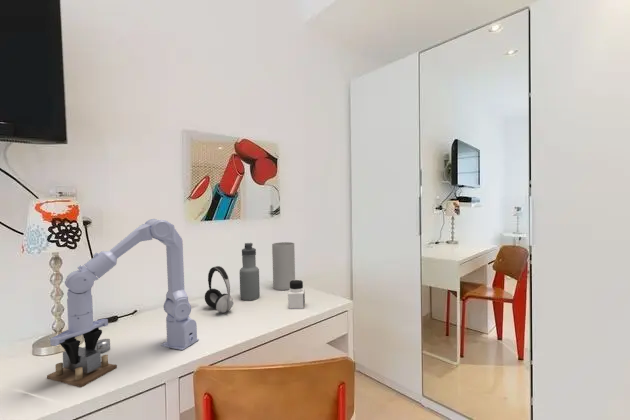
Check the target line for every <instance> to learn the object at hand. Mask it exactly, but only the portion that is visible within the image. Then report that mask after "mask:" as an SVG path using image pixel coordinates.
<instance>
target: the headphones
mask: <svg viewBox="0 0 630 420" xmlns="http://www.w3.org/2000/svg"><path fill="white" fill-rule="evenodd" d="M215 272H217V273H219V274H220V276H221V278H222V279H223V282H224V284H225V287H226V292H227V293H222V292H221V291H220V290H218V289H217V288H212V281H213V280H212V279H213V276H214V273H215ZM207 282H208V290H206V292H205V293H204V302H205V304H206V306H208V307H209V308H211V309H215V310H216V311H217V312H218V313H226V312H229V311H230V310H231V309H232V308H233V306H234V301H233V297H232V296H231V283H230V279H229V276H228V273H227V271H226V270H225V269H224V267H222V266H220V265H219V266H218V265H217V266H212V267H211V268H210V269H209V271H208V274H207Z"/></svg>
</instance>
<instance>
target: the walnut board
mask: <svg viewBox="0 0 630 420" xmlns="http://www.w3.org/2000/svg"><path fill="white" fill-rule="evenodd" d="M117 368H118V365H117V364H112V363H109V355H108V354H103V355H101V367H99V368H97V369H95V370H93V371H91V372H89V373H88V374H87V373H83V369H82V367H78V368H76V369H75V370H71V369H66V368H63V362H58V363H56V364H55V371H53V372H52V373H50V374H48V375H46V379H48V380H52V381H56V382H58V383H63V384H68V385H71V386H74V387H79V388H84V387H85V386H87V385H88V384H89V385H90V384H91V383H92V382H95V381H97V380H98V379H100V378H102V377H103V376H105V375H107V374H109V373H111V372H112V371H114V370H116V369H117Z"/></svg>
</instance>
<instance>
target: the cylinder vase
mask: <svg viewBox="0 0 630 420" xmlns="http://www.w3.org/2000/svg"><path fill="white" fill-rule="evenodd" d="M271 244H272V245H271V248H272V249H271V254H272V282H273V283H272V286H273V289H274V290H277V291H289V290H290V281H292V280H296V264H295V263H296V258H295V255H296V254H295V243H294V242H289V241H288V242H287V241H285V242H273V243H271Z"/></svg>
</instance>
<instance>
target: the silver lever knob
mask: <svg viewBox="0 0 630 420" xmlns="http://www.w3.org/2000/svg"><path fill="white" fill-rule="evenodd" d="M82 348H85V346H84V347H83V346H82ZM95 350H97V351H100V353H101V354H103V353H104V354H105V353H107V352H109V351H110V350H111V340H110V338H101V339H98V341H97V344H96V347H95Z"/></svg>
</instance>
